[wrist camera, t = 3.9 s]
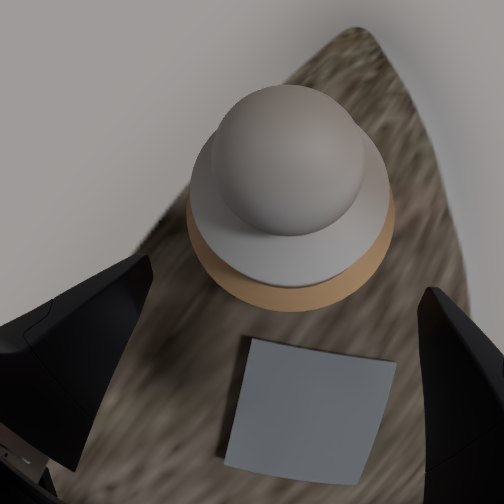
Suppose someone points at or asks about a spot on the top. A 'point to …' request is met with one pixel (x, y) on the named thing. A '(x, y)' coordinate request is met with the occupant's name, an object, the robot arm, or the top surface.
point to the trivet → (308, 413)
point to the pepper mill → (290, 201)
